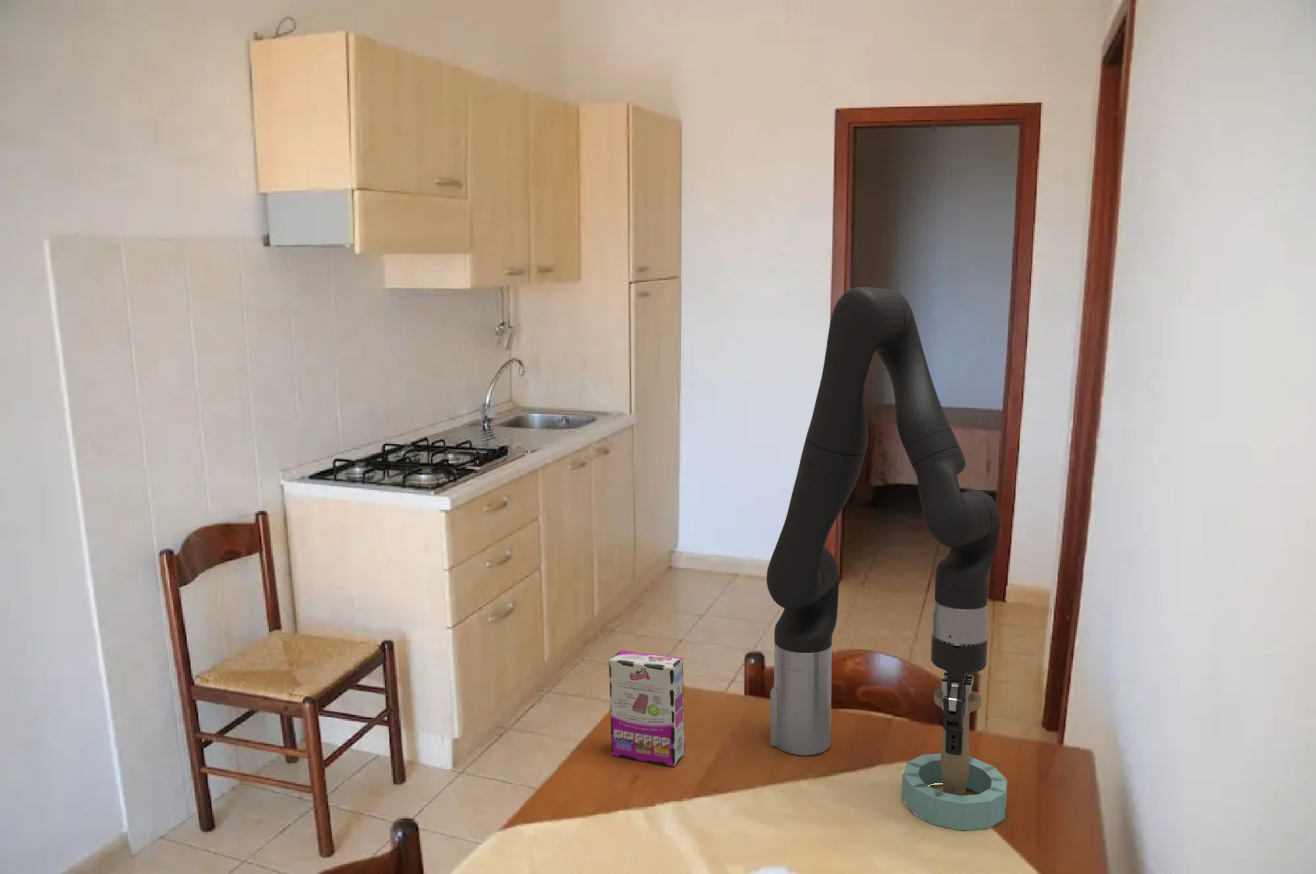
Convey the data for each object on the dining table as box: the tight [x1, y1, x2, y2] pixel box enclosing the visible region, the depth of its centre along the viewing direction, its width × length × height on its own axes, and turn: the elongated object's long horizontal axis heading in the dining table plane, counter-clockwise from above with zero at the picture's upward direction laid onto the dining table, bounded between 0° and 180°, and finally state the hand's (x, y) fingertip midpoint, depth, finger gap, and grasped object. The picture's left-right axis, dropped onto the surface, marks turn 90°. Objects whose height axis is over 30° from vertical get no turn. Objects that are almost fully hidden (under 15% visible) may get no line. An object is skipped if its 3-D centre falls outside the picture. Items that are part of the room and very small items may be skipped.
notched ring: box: [901, 752, 1008, 831], centre depth 137 cm, size 14×14×4 cm
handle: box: [933, 687, 982, 796], centre depth 136 cm, size 5×6×15 cm
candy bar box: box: [608, 649, 686, 767], centre depth 151 cm, size 11×5×16 cm, turn 68°
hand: (955, 746), depth 136 cm, fingers closed on handle, 3 cm apart
